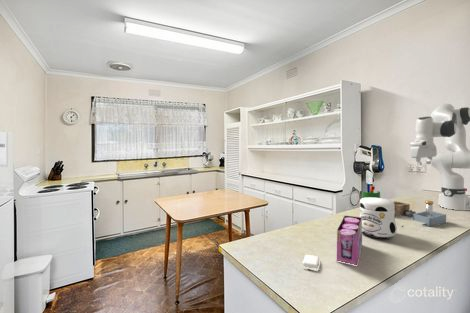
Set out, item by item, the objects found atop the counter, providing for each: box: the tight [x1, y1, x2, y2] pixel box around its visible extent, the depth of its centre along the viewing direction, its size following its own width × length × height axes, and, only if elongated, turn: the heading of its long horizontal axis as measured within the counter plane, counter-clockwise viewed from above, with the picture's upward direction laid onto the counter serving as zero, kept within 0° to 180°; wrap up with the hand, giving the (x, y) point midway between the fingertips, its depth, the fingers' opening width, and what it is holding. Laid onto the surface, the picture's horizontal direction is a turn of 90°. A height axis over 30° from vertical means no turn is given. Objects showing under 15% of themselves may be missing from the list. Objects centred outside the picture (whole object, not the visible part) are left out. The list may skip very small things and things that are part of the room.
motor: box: [361, 185, 381, 199], centre depth 153 cm, size 10×9×20 cm
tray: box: [412, 210, 447, 228], centre depth 136 cm, size 15×9×5 cm, turn 112°
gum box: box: [336, 215, 363, 266], centre depth 102 cm, size 24×8×14 cm, turn 147°
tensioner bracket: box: [393, 200, 417, 219], centre depth 149 cm, size 12×16×8 cm
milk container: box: [359, 197, 398, 239], centre depth 122 cm, size 17×17×18 cm
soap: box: [302, 254, 320, 269], centre depth 94 cm, size 9×7×3 cm
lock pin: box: [424, 200, 435, 218], centre depth 136 cm, size 4×4×12 cm
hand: (424, 164), depth 146 cm, fingers open, 8 cm apart
